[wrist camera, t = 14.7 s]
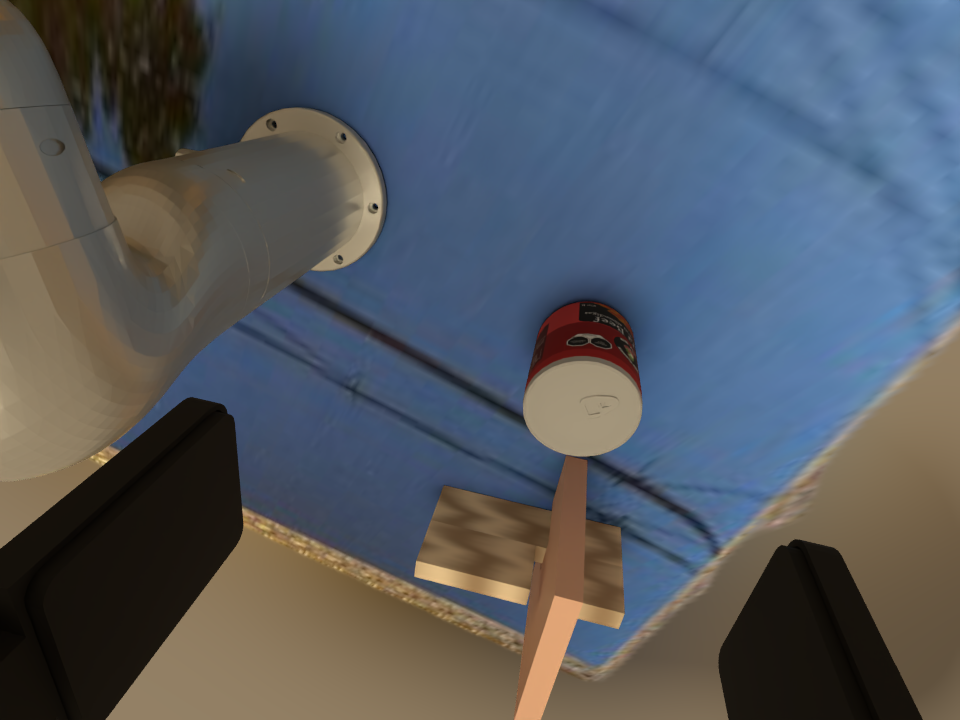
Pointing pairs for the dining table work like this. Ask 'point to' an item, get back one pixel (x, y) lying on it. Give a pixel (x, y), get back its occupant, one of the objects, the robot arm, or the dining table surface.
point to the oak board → (514, 552)
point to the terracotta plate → (554, 593)
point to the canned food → (583, 381)
